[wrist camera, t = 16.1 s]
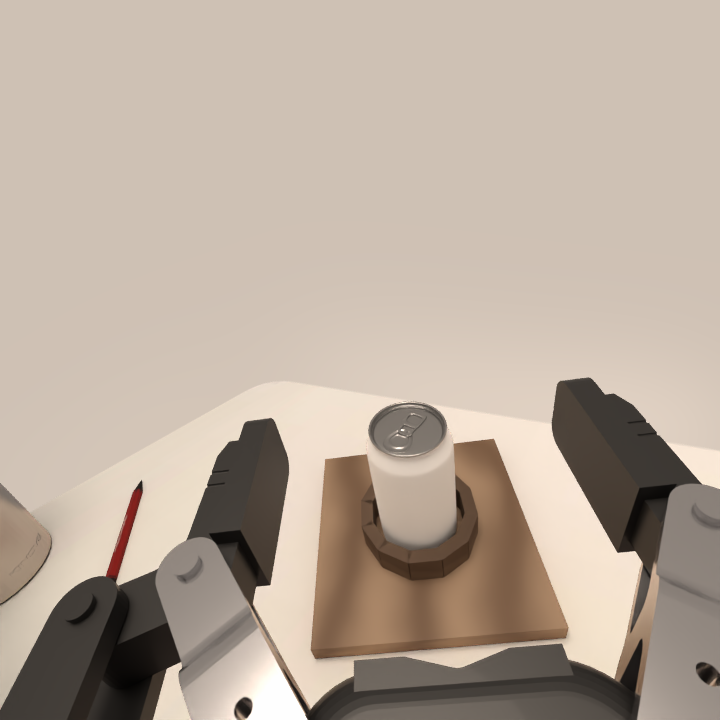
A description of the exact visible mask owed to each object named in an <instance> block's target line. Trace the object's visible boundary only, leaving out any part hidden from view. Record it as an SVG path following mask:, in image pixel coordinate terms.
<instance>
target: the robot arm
mask: <svg viewBox="0 0 720 720" xmlns="http://www.w3.org/2000/svg"><path fill="white" fill-rule="evenodd" d="M552 431H553V436H554V439H555V442H556V444H557V446H558V448H559V450H560V451H561V453H562V455H563V457H564V459H565V460H566V462H567V464H568V466H569V467H570V469H571V471H572V473H573V475H574V476H575V478H576V480H577V482H578V483H579V485H580V487H581V489H582V491H583V492H584V494H585V496H586V498H587V499H588V501H589V503H590V505H591V507H592V508H593V510H594V512H595V514H596V515H597V517H598V519H599V521H600V523H601V524H602V526H603V528H604V530H605V531H606V533H607V535H608V537H609V538H610V540H611V542H612V544H613V546H614V547H615V549H616V551H617V553H620V552H630V551H636V553H637V554H638V556H639V557H640V559H641V561H642V564H641V567H640V570H639V575H638V580H637V585H636V590H635V595H634V600H633V605H632V610H631V615H630V620H629V625H628V630H627V635H626V639H625V643H624V647H623V651H622V654H621V657H620V660H619V664H618V667H617V671H616V676H615V679H613V678H611V677H610V676H608V675H606V674H605V673H603V672H601V671H598V670H596V669H594V668H592V667H590V666H587V665H584V664H581V663H578V662H575V661H571V660H568V658H567V656H566V653H565V650H564V648H563V645H562V644H552V645H540V646H528V647H515V648H508V649H506V650H503V651H501V652H499V653H496V654H494V655H491V656H489V657H487V658H484V659H482V660H479V661H477V662H475V663H472V664H470V665H467V666H465V667H462V668H452V667H448V666H443V665H439V664H434V663H430V662H425V661H421V660H416V659H412V658H407V657H393V658H381V659H369V660H357V661H354V676H353V677H351V678H349V679H346V680H345V681H343V682H341V683H340V684H338V685H336V686H335V687H334V688H332V689H331V690H330V691H329V692H327V693H326V694H325V695H324V696H323V697H322V698H321V699H320V700H319V701H318V702H317V703H316V704H315V705H314V706H313V707H312V709H311V708H310V706H309V705H308V703H307V701H306V699H305V697H304V696H303V694H302V692H301V690H300V688H299V687H298V685H297V683H296V681H295V680H294V678H293V676H292V675H291V673H290V671H289V669H288V667H287V666H286V664H285V662H284V660H283V658H282V656H281V655H280V653H279V651H278V649H277V647H276V645H275V643H274V642H273V640H272V638H271V636H270V634H269V632H268V630H267V629H266V627H265V625H264V623H263V621H262V619H261V618H260V616H259V614H258V612H257V610H256V608H255V606H254V605H253V599H254V594H255V589H256V587H257V586H267V585H270V584H271V578H272V572H273V566H274V560H275V554H276V548H277V542H278V536H279V530H280V524H281V518H282V512H283V506H284V500H285V494H286V488H287V482H288V476H289V463H288V457H287V453H286V451H285V448H284V445H283V443H282V440H281V437H280V434H279V432H278V429H277V426H276V424H275V422H274V420H273V419H272V418H269V419H261V420H254V421H247V422H245V424H244V426H243V429H242V432H241V435H240V438H239V440H238V441H231V442H229V443H228V444H227V445H226V447H225V448H224V449H223V450H222V451H221V453H220V454H219V455H218V456H217V459H216V462H215V465H214V467H213V470H212V475H210V478H209V481H208V484H207V488H206V489H205V492H204V495H203V497H202V500H201V503H200V505H199V508H198V511H197V514H196V516H195V519H194V522H193V524H192V527H191V530H190V533H189V535H188V538H187V540H186V541H185V542H183V543H181V544H179V545H178V546H176V547H175V548H174V549H173V550H172V551H170V552H169V553H168V555H167V556H166V557H165V558H164V560H163V561H162V562H161V564H160V566H159V568H158V569H157V570H155V571H153V572H150V573H148V574H146V575H143V576H141V577H138V578H136V579H134V580H131V581H129V582H126V583H124V584H122V585H119V586H118V585H117V584H116V583H115V582H114V581H113V580H112V579H111V578H109V577H105V576H98V577H94V578H90V579H88V580H86V581H84V582H82V583H80V584H78V585H77V586H75V587H74V588H73V589H71V590H70V591H69V592H68V593H67V594H66V595H65V596H64V597H63V598H62V599H61V600H60V601H59V602H58V603H57V605H56V606H55V608H54V609H53V611H52V612H51V614H50V616H49V618H48V620H47V622H46V624H45V625H44V627H43V629H42V631H41V633H40V635H39V637H38V639H37V641H36V643H35V645H34V646H33V648H32V650H31V652H30V654H29V656H28V658H27V660H26V662H25V664H24V666H23V668H22V669H21V671H20V673H19V675H18V677H17V679H16V681H15V683H14V685H13V687H12V689H11V690H10V692H9V694H8V696H7V698H6V700H5V702H4V704H3V706H2V708H1V710H0V720H153V717H154V713H155V710H156V706H157V702H158V699H159V695H160V691H161V688H162V684H163V680H164V677H165V673H166V669H167V668H169V667H171V666H173V665H175V664H178V663H180V662H181V663H182V669H181V670H180V671H179V682H180V686H181V690H182V693H183V696H184V699H185V702H186V705H187V708H188V712H189V715H190V718H191V720H720V489H717V488H714V487H711V486H707V485H702V484H701V483H700V482H699V480H698V479H697V478H696V477H695V476H694V475H693V473H692V472H691V471H690V470H689V469H688V468H687V467H686V465H685V464H684V463H683V462H682V461H681V460H680V459H679V457H678V456H677V455H676V454H675V453H674V452H673V451H672V449H671V448H670V447H669V446H668V445H667V444H666V442H665V441H664V440H663V439H662V438H661V437H660V436H658V435H657V432H656V431H655V430H654V429H653V428H652V426H651V425H650V424H649V423H646V420H645V418H644V417H643V416H642V415H641V414H640V413H639V411H638V410H637V409H636V408H635V407H634V406H633V405H632V404H630V403H629V402H627V401H625V400H624V399H622V398H620V397H619V396H617V395H615V394H608V395H605V394H604V393H603V392H602V390H601V389H600V388H599V387H598V385H597V384H596V383H595V382H594V381H593V380H592V379H591V378H581V379H573V380H565V381H560V382H559V383H558V384H557V389H556V396H555V403H554V411H553V418H552ZM50 547H51V537H50V534H49V533H48V532H47V531H46V529H45V528H44V527H43V526H42V525H41V524H40V523H39V522H38V521H37V520H36V519H35V518H34V517H33V516H32V515H31V514H30V513H29V512H28V511H27V510H26V509H25V508H24V507H23V506H22V505H21V504H20V503H19V502H18V501H17V500H16V499H15V498H14V497H13V496H12V494H11V493H9V491H7V489H6V488H5V487H4V486H3V485H2V484H1V483H0V603H2V602H4V601H5V600H7V599H8V598H9V597H11V596H12V595H13V594H15V593H16V592H17V591H18V590H19V589H21V588H22V587H23V586H24V585H25V584H26V583H27V582H28V581H29V580H30V579H31V578H32V577H33V576H34V575H35V573H36V572H37V571H38V569H39V568H40V567H41V565H42V564H43V562H44V560H45V559H46V557H47V555H48V552H49V549H50Z"/></svg>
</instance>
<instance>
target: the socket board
mask: <svg viewBox="0 0 720 720" xmlns="http://www.w3.org/2000/svg"><path fill="white" fill-rule="evenodd" d="M453 445H454V462H455V487H456V516H457V527H456V534H455V535H454V536H453V537H451V538H450V539H448V540H447V541H446V542H444V543H443V544H441V545H440V546H439V547H437V548H430V549H421V550H411V551H410V550H408V549H405V548H403V547H401V546H398V545H396V544H393V543H391V542H389V541H387V540H386V538H385V536H384V533H383V529H382V525H381V520H380V516H379V511H378V506H377V501H376V497H375V492H374V487H373V482H372V477H371V472H370V467H369V462H368V457H367V454H366V455H358V456H349V457H341V458H333V459H325V470H324V484H323V497H322V510H321V523H320V536H319V549H318V562H317V575H316V588H315V602H314V615H313V628H312V641H311V651H312V653H313V655H314V657H315V659H316V658H328V657H340V656H352V655H364V654H376V653H388V652H400V651H412V650H424V649H436V648H448V647H460V646H472V645H484V644H496V643H509V642H521V641H533V640H545V639H557V638H566V635H567V632H568V625H567V623H566V620H565V618H564V615H563V613H562V610H561V608H560V605H559V603H558V600H557V598H556V595H555V593H554V590H553V587H552V585H551V582H550V580H549V577H548V575H547V572H546V570H545V567H544V565H543V562H542V560H541V557H540V555H539V552H538V549H537V547H536V544H535V542H534V539H533V537H532V534H531V532H530V529H529V527H528V524H527V522H526V519H525V517H524V514H523V511H522V509H521V506H520V504H519V501H518V499H517V496H516V494H515V491H514V489H513V486H512V484H511V481H510V479H509V476H508V473H507V471H506V468H505V466H504V463H503V461H502V458H501V456H500V453H499V451H498V448H497V446H496V443H495V441H494V439H489V440H481V441H472V442H464V443H456V444H453Z"/></svg>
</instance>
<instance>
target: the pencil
mask: <svg viewBox="0 0 720 720" xmlns="http://www.w3.org/2000/svg"><path fill="white" fill-rule="evenodd" d="M141 496H142V480H141V482H140V483H139V484H138V486H137V487H136V489H135V490H134V492H133V494H132V497H131V500H130V503H129V506H128V509H127V512H126V515H125V518H124V521H123V525H122V528H121V531H120V534H119V537H118V540H117V543H116V546H115V549H114V552H113V556H112V559H111V562H110V565H109V568H108V571H107V574H106V577H109V578H111V579H112V580H113V581H114V582H115V583H116V580H117V576H118V573H119V570H120V566H121V563H122V560H123V556H124V553H125V550H126V546H127V543H128V539H129V536H130V533H131V529H132V526H133V523H134V519H135V516H136V513H137V509H138V506H139V502H140V499H141Z"/></svg>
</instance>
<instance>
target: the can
mask: <svg viewBox="0 0 720 720" xmlns="http://www.w3.org/2000/svg"><path fill="white" fill-rule="evenodd" d="M368 432H369V436H368V438H367V443H366V450H367V457H368V462H369V467H370V472H371V477H372V482H373V487H374V492H375V497H376V501H377V506H378V511H379V516H380V520H381V525H382V529H383V533H384V536H385V538H386V540H387V541H389V542H391V543H393V544H396V545H398V546H401V547H403V548H405V549H408V550H410V551H411V550H421V549H430V548H437V547H439V546H440V545H441V544H443V543H444V542H446V541H447V540H448V539H450V538H451V537H453V536H454V535H455V534H456V527H457V516H456V487H455V462H454V445H453V438H452V435H451V432H450V431H449V429H448V427H447V424H446V420H445V418H444V416H443V415H442V414H441V413H440V412H439V411H438V410H437V409H435V408H434V407H432V406H430V405H428V404H425V403H421V402H412V401H408V402H400V403H395V404H392V405H390V406H387V407H385V408H384V409H382V410H380V411H379V412H378V413H377V414H376V415H375V416H374V417H373V419H372V420H371V422H370V425H369V430H368Z"/></svg>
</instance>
